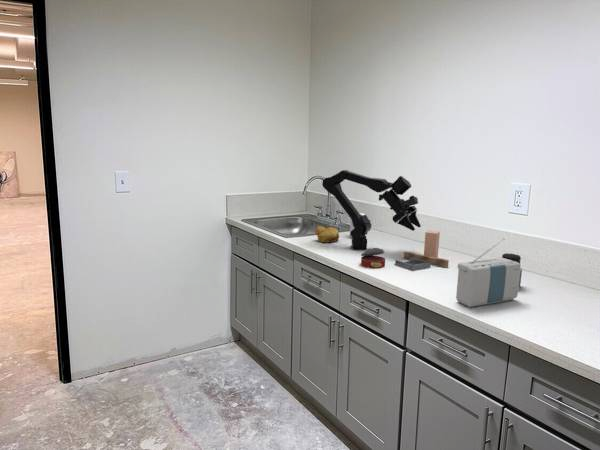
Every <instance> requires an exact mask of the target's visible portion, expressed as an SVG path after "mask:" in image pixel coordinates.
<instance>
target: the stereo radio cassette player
mask: <svg viewBox="0 0 600 450" xmlns="http://www.w3.org/2000/svg"><path fill="white" fill-rule="evenodd" d="M503 241H505V238H502V240H501V241H499V242H498V243H496V244H495V245H493V246H492V247H490V248H488V249H487V250H486V251H485V252H483V253H482V254H480V255H479V256H478V257H476V258H475V259H474V260H471V261H465V262H464V261H463V262H458V263H457V269H458V271H457V272H458V273H457V284H456V295H455V298H456V301H457V302H458V303H461V304H462V305H464V306H466V307H468V308H470V307H471V308H473V307H478V306H479V307H480V306H486V305H490V304H495V303H502V302H507V301H512V300H515V299H516V298H517V297H518V293H519V288H520V287H519V280H520V269H521V267H522V266H521V262H520V263H518V262H515V261H512V260H509V259H505V258H502V257H496V258H488V259H480V258H482V257H484V255H486V254H487V253H488V252H490V251H491V250H493V249H494V248H495V247H496V246H497V245H499V244H500V243H501V242H503Z"/></svg>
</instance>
